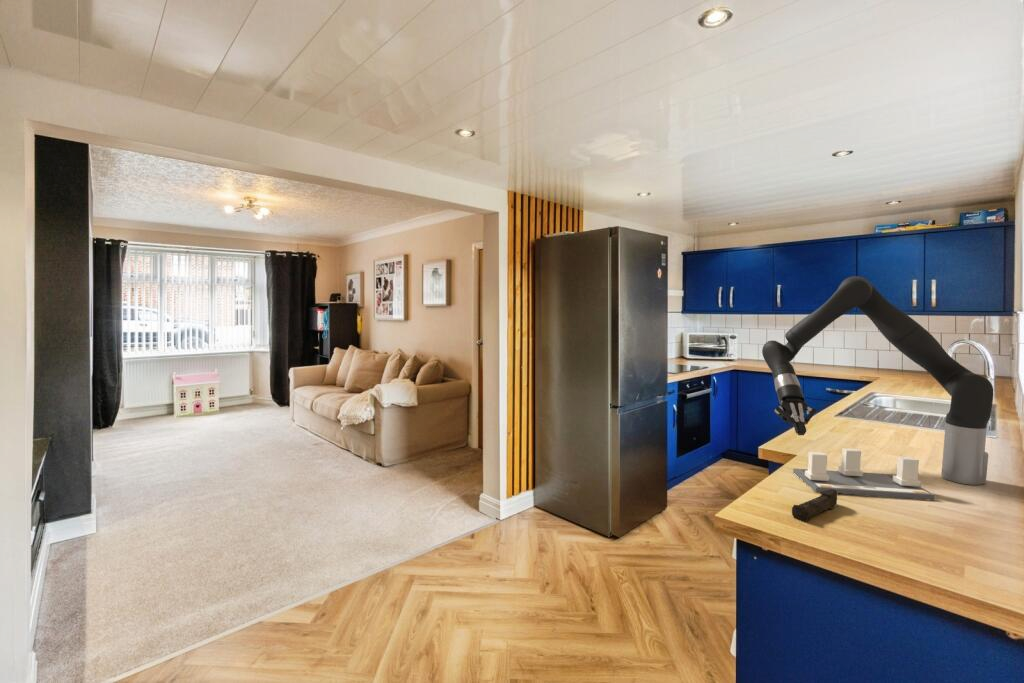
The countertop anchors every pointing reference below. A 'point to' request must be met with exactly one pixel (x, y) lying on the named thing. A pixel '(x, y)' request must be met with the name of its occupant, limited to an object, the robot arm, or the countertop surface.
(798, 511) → the hand tool
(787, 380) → the robot arm
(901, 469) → the near tab
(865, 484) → the switch bank
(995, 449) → the countertop surface
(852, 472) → the middle tab
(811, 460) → the far tab
